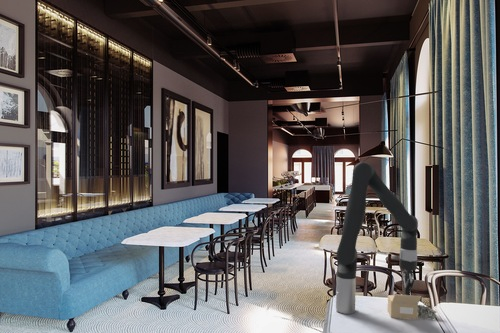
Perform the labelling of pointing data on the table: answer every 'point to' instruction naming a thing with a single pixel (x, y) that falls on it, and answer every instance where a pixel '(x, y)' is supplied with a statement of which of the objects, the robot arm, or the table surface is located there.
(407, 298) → the flap
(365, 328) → the table surface
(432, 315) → the grey textured block
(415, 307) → the carton
